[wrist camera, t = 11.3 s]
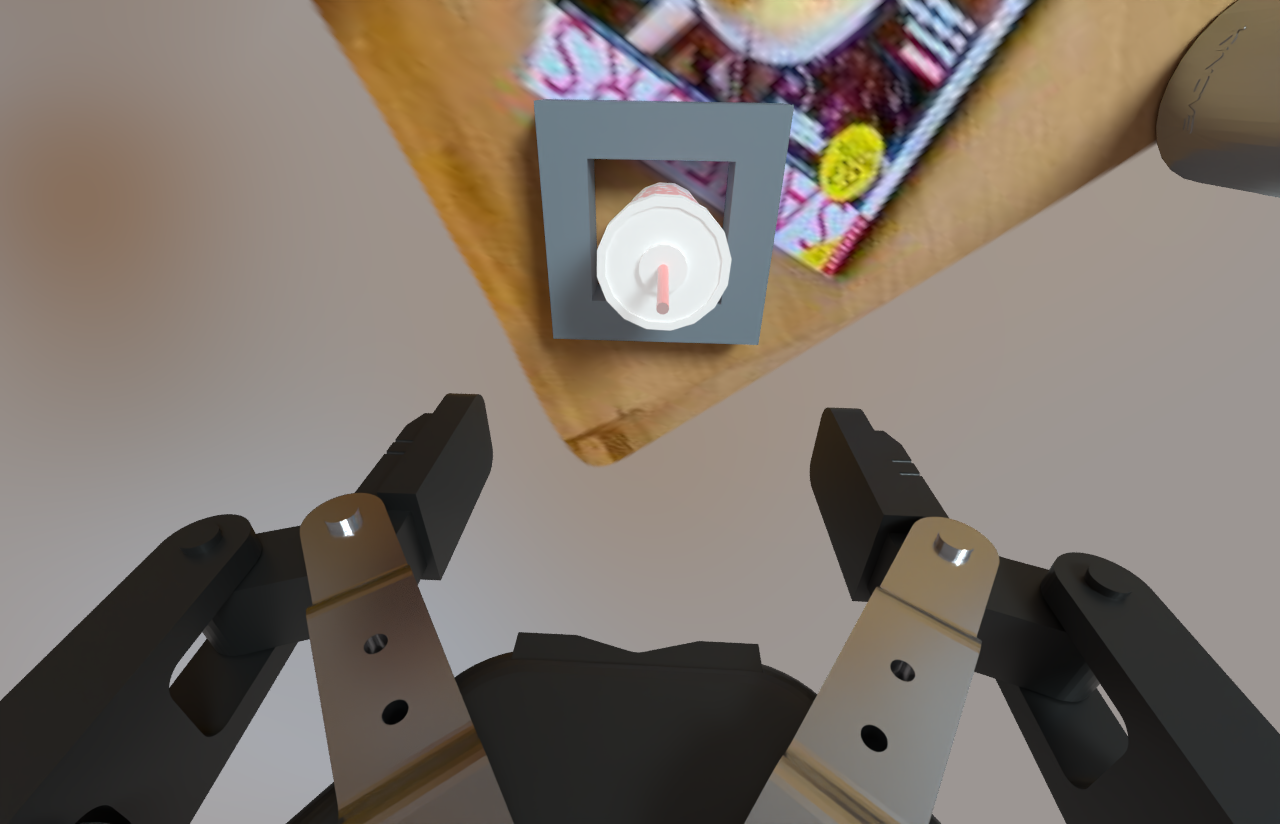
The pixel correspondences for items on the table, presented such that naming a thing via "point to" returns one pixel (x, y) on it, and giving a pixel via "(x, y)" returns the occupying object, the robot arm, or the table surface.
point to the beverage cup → (663, 259)
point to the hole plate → (659, 134)
